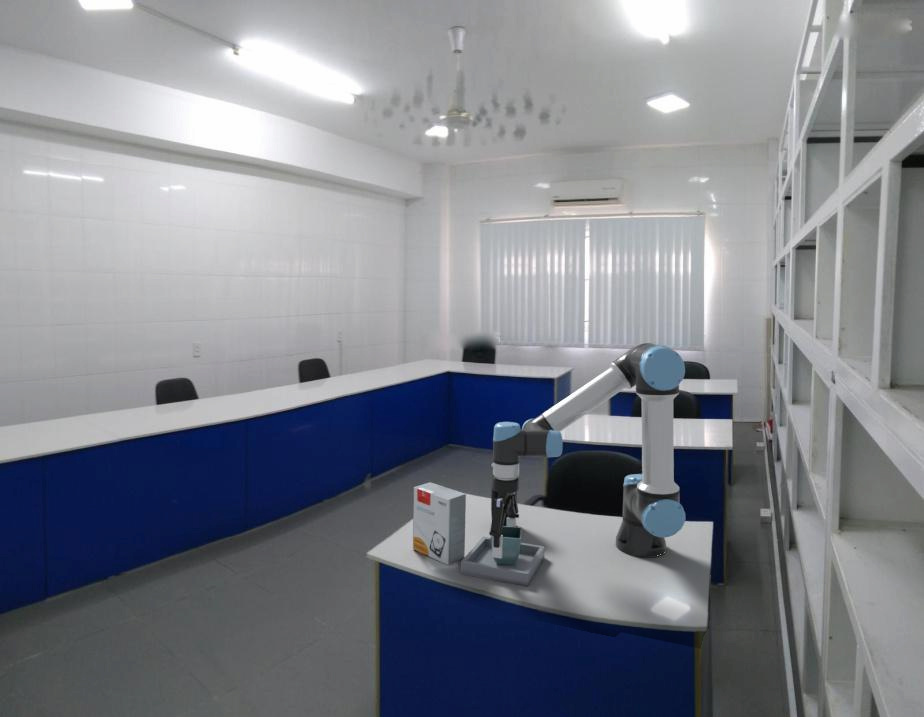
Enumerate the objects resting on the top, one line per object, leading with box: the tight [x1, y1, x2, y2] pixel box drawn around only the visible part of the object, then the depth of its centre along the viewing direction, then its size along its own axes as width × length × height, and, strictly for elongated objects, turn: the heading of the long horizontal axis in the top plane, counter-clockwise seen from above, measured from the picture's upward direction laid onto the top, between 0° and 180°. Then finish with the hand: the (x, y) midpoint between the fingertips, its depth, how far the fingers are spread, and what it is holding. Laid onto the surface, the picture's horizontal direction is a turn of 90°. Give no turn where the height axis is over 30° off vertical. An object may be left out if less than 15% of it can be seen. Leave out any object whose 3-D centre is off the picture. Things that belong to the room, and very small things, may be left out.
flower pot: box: [489, 526, 523, 565], centre depth 172 cm, size 9×9×9 cm
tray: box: [460, 536, 546, 587], centre depth 172 cm, size 19×19×4 cm
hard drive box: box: [412, 481, 467, 566], centre depth 179 cm, size 16×8×20 cm, turn 47°
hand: (504, 548), depth 172 cm, fingers open, 13 cm apart
